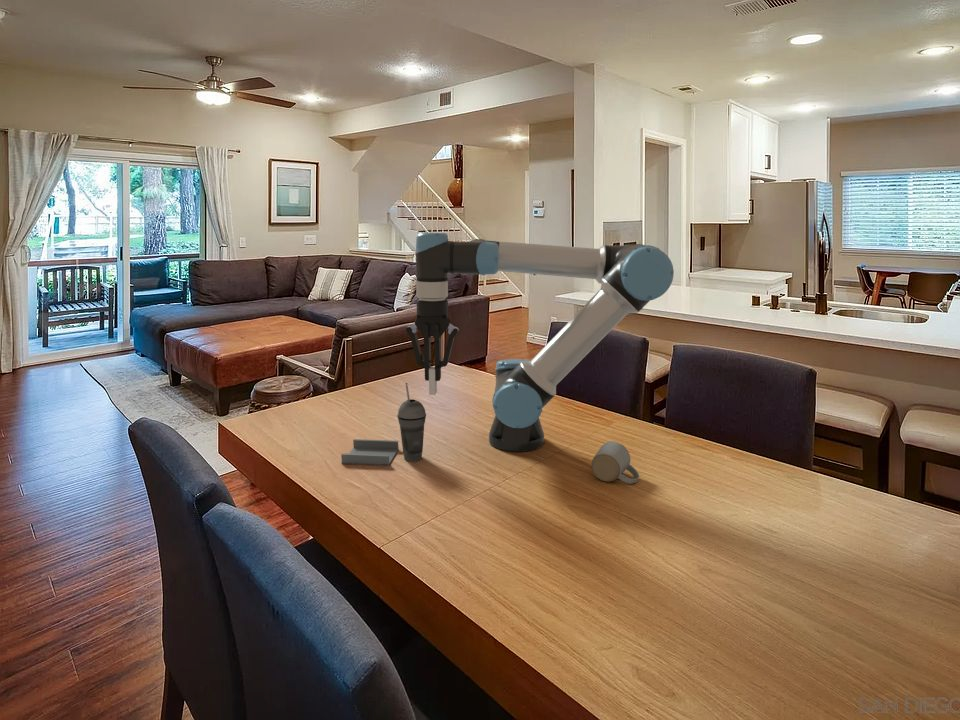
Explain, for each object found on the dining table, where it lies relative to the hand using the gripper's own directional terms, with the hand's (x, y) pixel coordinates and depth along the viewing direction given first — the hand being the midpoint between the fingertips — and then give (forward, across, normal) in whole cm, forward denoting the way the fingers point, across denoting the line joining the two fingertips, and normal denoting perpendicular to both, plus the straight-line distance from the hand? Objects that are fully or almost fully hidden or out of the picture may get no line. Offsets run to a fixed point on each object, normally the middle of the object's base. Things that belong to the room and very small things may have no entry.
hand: (433, 393), depth 145 cm
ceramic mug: (+18, -45, +6) cm, 49 cm away
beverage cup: (+18, +5, 0) cm, 19 cm away
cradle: (+18, +16, 0) cm, 24 cm away
